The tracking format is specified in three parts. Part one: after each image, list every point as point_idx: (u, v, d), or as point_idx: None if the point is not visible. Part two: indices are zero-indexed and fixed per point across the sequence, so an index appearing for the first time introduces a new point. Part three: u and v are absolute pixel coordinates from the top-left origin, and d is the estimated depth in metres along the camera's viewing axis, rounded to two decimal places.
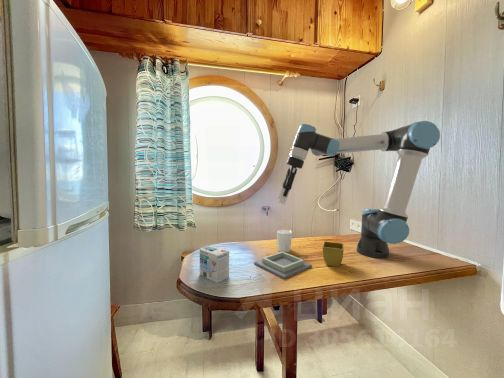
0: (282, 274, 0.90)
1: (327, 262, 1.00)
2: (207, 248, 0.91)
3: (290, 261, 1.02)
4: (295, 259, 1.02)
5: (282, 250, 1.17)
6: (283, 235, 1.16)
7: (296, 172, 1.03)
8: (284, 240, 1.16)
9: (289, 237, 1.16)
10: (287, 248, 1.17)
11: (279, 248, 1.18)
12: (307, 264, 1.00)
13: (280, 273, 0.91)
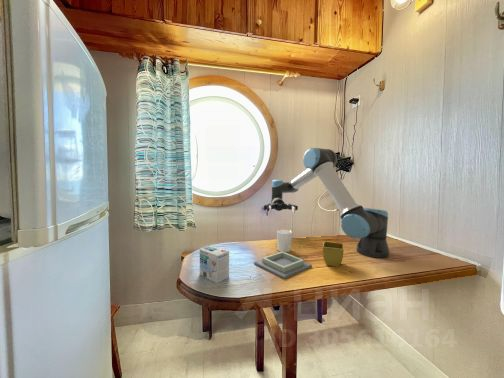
0: (282, 274, 0.90)
1: (327, 262, 1.00)
2: (207, 248, 0.91)
3: (290, 261, 1.02)
4: (295, 259, 1.02)
5: (282, 250, 1.17)
6: (283, 235, 1.16)
7: (276, 202, 1.43)
8: (284, 240, 1.16)
9: (289, 237, 1.16)
10: (287, 248, 1.17)
11: (279, 248, 1.18)
12: (307, 264, 1.00)
13: (280, 273, 0.91)
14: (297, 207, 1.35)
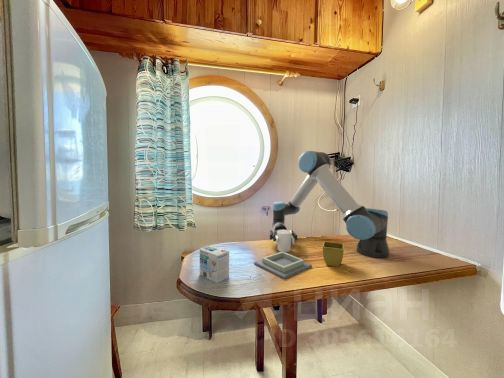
0: (282, 274, 0.90)
1: (327, 262, 1.00)
2: (207, 248, 0.91)
3: (290, 261, 1.02)
4: (295, 259, 1.02)
5: (282, 250, 1.17)
6: (283, 235, 1.16)
7: (278, 229, 1.31)
8: (284, 240, 1.16)
9: (289, 237, 1.16)
10: (287, 248, 1.17)
11: (279, 248, 1.18)
12: (307, 264, 1.00)
13: (280, 273, 0.91)
14: None
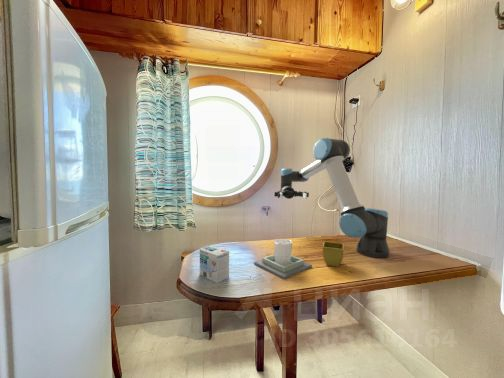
0: (282, 274, 0.90)
1: (327, 262, 1.00)
2: (207, 248, 0.91)
3: (290, 261, 1.02)
4: (295, 259, 1.02)
5: (280, 264, 0.97)
6: (282, 246, 0.96)
7: (286, 190, 1.41)
8: (283, 252, 0.96)
9: (289, 248, 0.97)
10: (286, 261, 0.97)
11: (277, 261, 0.98)
12: (307, 264, 1.00)
13: (280, 273, 0.91)
14: (308, 194, 1.33)
